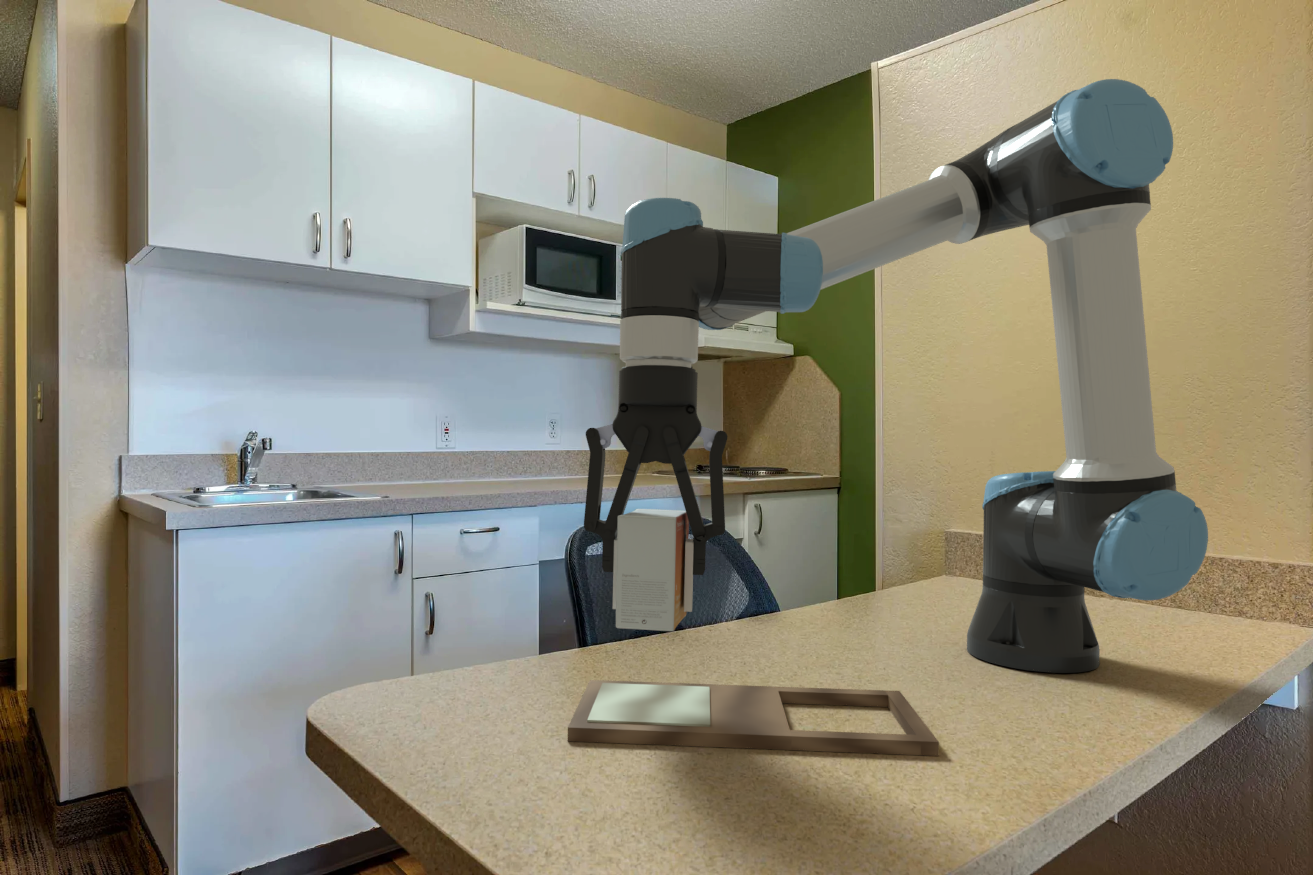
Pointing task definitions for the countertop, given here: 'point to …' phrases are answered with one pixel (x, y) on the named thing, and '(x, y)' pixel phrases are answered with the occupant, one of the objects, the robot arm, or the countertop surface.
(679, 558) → the small box
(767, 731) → the board
